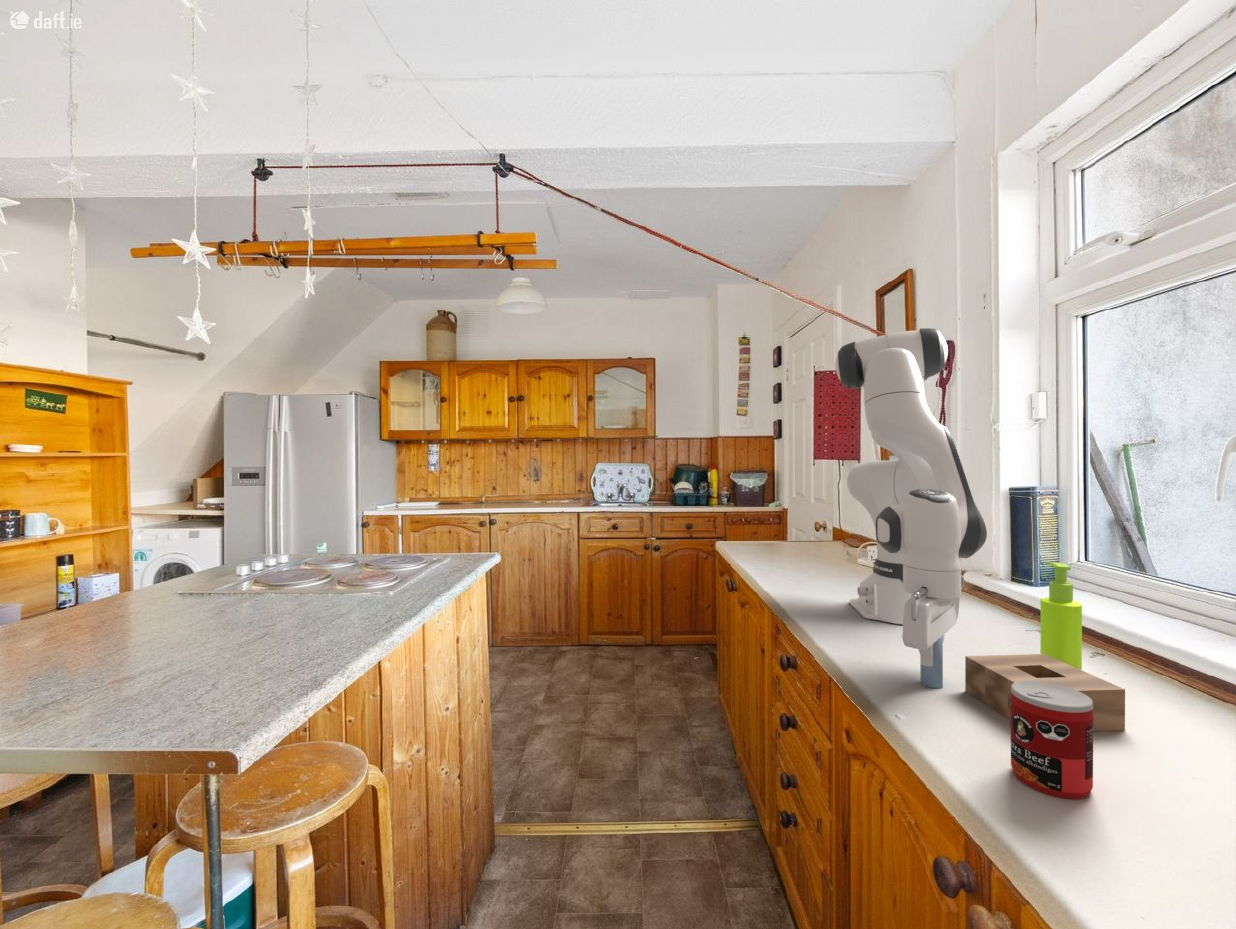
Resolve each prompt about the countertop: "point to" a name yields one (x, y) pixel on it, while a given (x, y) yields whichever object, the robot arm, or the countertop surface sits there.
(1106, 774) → the countertop surface
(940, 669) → the dowel
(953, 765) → the countertop surface
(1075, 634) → the soap dispenser
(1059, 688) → the canned food
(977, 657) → the socket block
